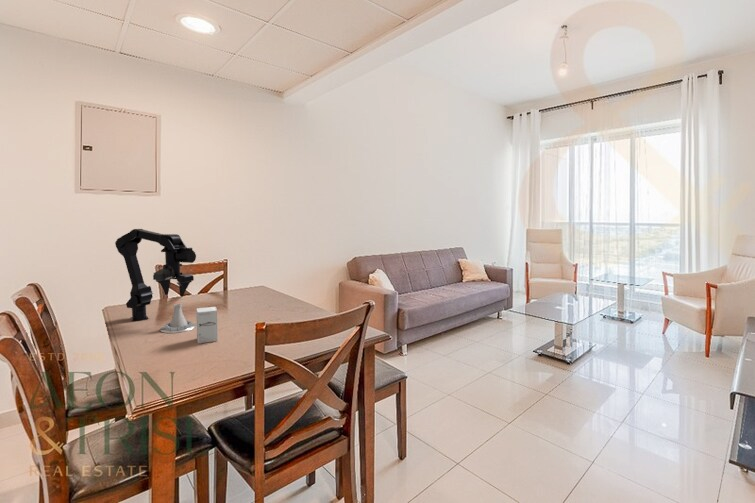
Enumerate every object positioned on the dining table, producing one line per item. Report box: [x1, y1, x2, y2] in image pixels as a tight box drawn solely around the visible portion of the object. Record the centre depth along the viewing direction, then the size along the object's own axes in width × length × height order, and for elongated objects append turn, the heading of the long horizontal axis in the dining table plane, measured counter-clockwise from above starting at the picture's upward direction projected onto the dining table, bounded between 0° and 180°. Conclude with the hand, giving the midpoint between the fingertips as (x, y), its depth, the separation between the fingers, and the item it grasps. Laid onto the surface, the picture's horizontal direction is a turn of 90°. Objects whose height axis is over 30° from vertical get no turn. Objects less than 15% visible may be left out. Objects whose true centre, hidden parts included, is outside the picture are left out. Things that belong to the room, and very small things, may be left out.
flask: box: [169, 303, 188, 327], centre depth 164 cm, size 7×7×10 cm
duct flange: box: [159, 319, 197, 334], centre depth 164 cm, size 14×14×2 cm
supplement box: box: [195, 306, 219, 344], centre depth 149 cm, size 7×7×13 cm
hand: (174, 295), depth 172 cm, fingers open, 9 cm apart
